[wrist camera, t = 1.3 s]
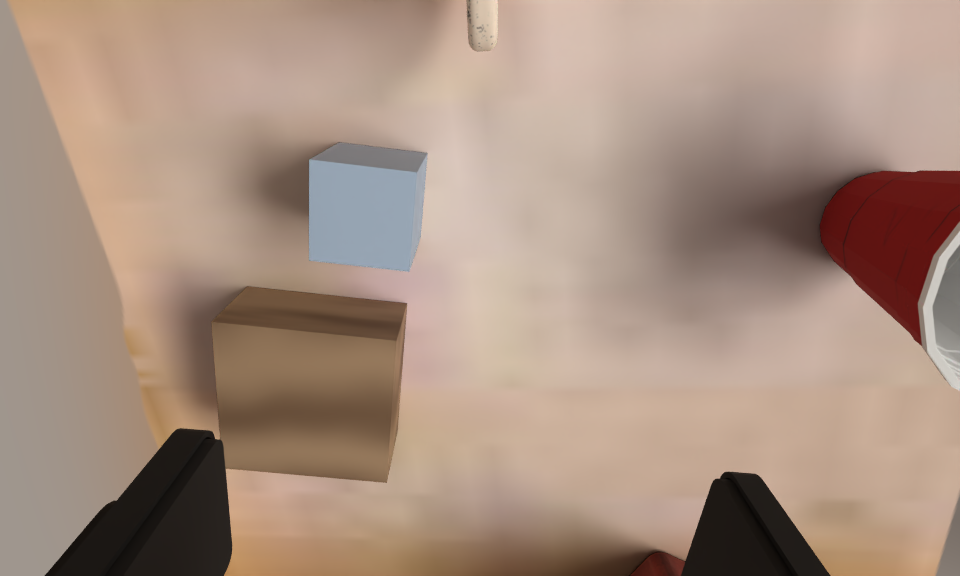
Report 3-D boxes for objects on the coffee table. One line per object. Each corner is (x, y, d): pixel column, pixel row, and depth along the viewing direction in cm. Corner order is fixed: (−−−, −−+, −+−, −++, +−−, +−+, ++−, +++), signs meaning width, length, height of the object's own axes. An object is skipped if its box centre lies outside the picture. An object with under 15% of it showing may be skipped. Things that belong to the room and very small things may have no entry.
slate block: (339, 142, 30) (309, 159, 25) (427, 152, 31) (416, 172, 25) (337, 227, 32) (308, 260, 27) (420, 236, 33) (409, 271, 27)
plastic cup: (980, 107, 30) (1276, 133, 19) (943, 285, 34) (1169, 392, 23) (782, 136, 30) (957, 177, 19) (770, 308, 35) (909, 423, 24)
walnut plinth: (247, 286, 34) (211, 321, 29) (407, 303, 34) (396, 340, 30) (253, 418, 37) (222, 468, 33) (397, 431, 38) (386, 482, 33)
